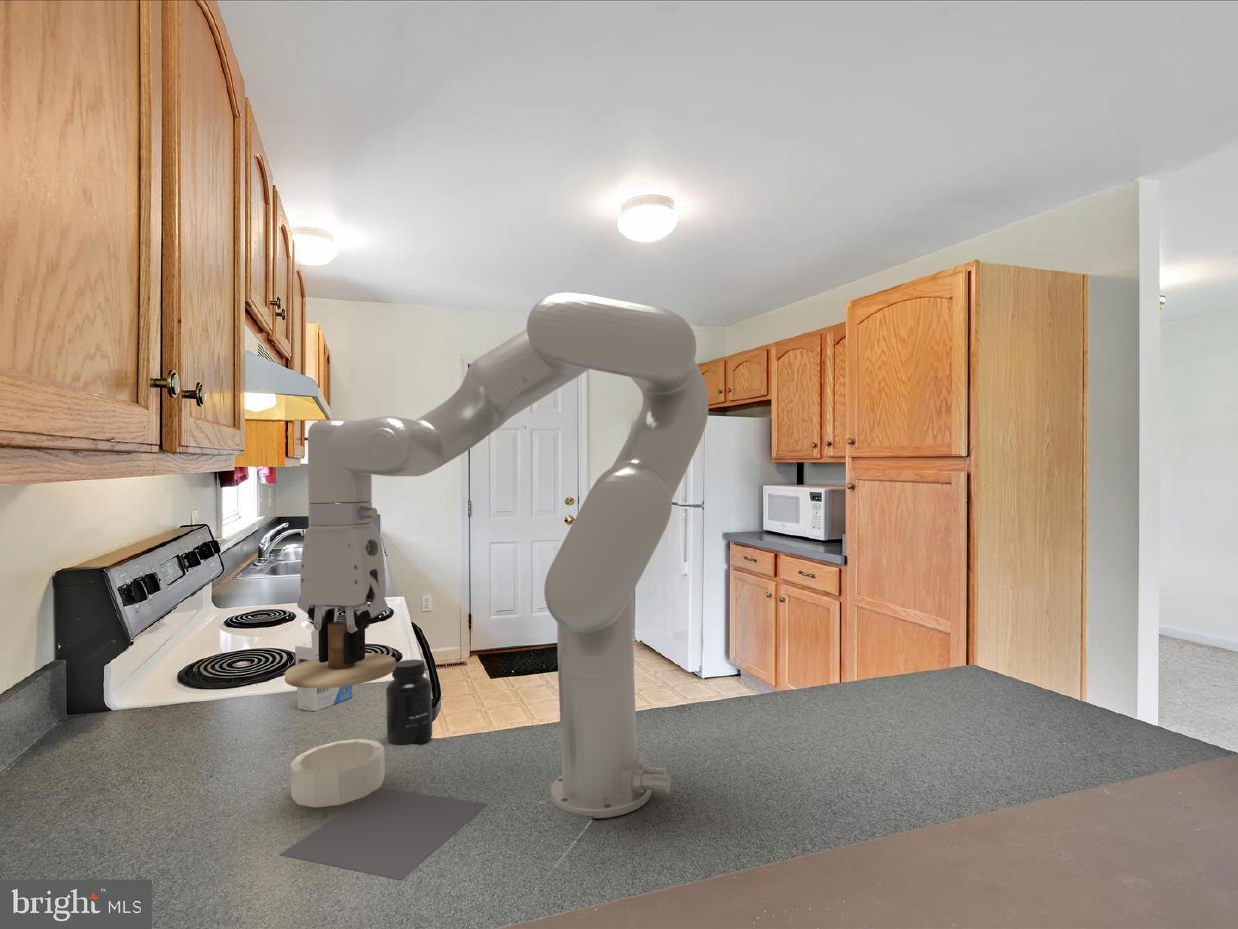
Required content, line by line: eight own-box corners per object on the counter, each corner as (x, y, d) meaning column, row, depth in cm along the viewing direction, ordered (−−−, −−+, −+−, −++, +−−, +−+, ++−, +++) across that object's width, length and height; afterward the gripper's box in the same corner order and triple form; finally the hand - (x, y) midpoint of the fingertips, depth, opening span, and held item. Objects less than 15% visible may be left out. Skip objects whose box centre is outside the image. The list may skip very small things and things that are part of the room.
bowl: (401, 777, 91) (400, 744, 91) (341, 816, 80) (340, 778, 81) (337, 768, 95) (336, 736, 95) (273, 804, 84) (271, 768, 84)
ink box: (335, 695, 129) (332, 619, 130) (353, 698, 127) (350, 620, 127) (295, 709, 122) (293, 628, 122) (314, 712, 119) (311, 630, 120)
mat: (488, 808, 81) (488, 803, 81) (401, 885, 66) (401, 879, 66) (381, 792, 86) (381, 788, 86) (279, 860, 71) (279, 854, 71)
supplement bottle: (419, 749, 100) (416, 669, 100) (378, 748, 101) (375, 669, 102) (440, 732, 107) (438, 657, 107) (401, 731, 108) (399, 657, 108)
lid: (416, 662, 89) (415, 615, 89) (348, 692, 77) (347, 637, 77) (336, 656, 93) (336, 610, 93) (260, 683, 81) (259, 631, 81)
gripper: (413, 515, 86) (414, 657, 86) (311, 515, 92) (313, 649, 91) (374, 518, 79) (375, 674, 79) (267, 518, 84) (267, 664, 84)
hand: (342, 659), depth 85 cm, fingers closed on lid, 3 cm apart
